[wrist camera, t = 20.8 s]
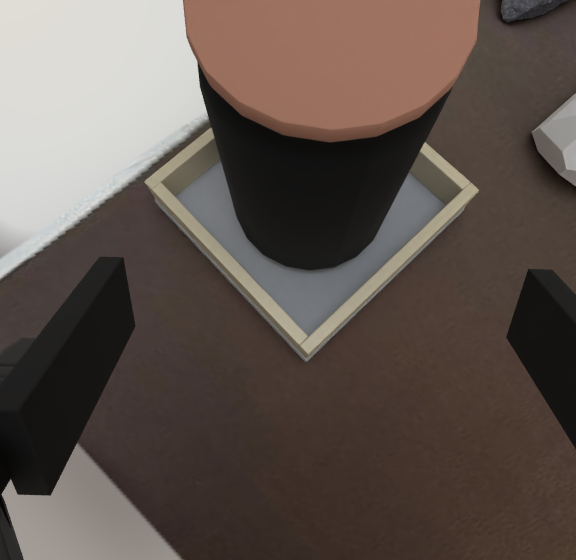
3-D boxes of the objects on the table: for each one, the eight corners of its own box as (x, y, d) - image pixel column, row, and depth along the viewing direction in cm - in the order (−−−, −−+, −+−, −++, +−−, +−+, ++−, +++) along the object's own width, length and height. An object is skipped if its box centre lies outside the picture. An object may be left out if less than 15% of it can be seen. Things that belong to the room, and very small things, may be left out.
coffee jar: (355, 123, 36) (418, -142, 18) (404, 250, 33) (532, 82, 16) (219, 160, 35) (151, -80, 18) (259, 294, 32) (225, 167, 15)
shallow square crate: (305, 362, 32) (308, 357, 28) (158, 206, 35) (141, 181, 31) (459, 214, 35) (482, 189, 31) (311, 80, 38) (313, 42, 34)
